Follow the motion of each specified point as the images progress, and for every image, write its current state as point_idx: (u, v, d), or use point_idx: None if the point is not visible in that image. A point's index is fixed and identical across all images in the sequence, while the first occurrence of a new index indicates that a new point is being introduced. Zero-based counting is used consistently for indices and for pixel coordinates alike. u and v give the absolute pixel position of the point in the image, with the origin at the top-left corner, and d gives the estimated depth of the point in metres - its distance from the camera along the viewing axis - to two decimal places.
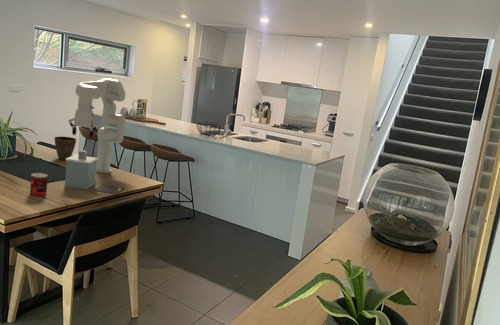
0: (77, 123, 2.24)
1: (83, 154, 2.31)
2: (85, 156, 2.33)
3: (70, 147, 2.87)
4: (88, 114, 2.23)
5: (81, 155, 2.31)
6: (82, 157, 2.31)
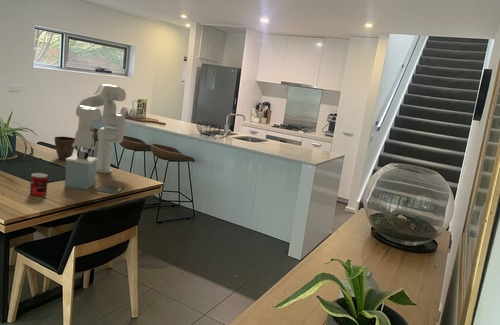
0: (77, 144, 2.29)
1: (83, 154, 2.31)
2: None
3: (70, 147, 2.87)
4: (88, 135, 2.28)
5: (81, 155, 2.31)
6: (82, 157, 2.31)
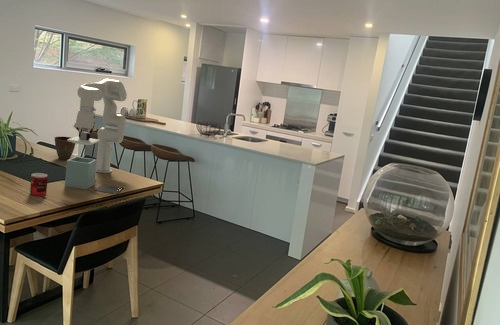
0: (79, 125, 2.27)
1: (85, 135, 2.29)
2: None
3: (70, 147, 2.87)
4: (89, 116, 2.26)
5: (83, 136, 2.29)
6: (84, 138, 2.29)
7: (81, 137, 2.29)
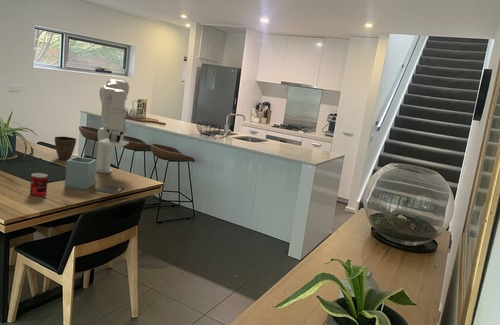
0: (110, 127, 2.28)
1: (115, 137, 2.30)
2: None
3: (70, 147, 2.87)
4: (120, 118, 2.27)
5: (113, 138, 2.30)
6: (114, 140, 2.30)
7: (111, 139, 2.30)
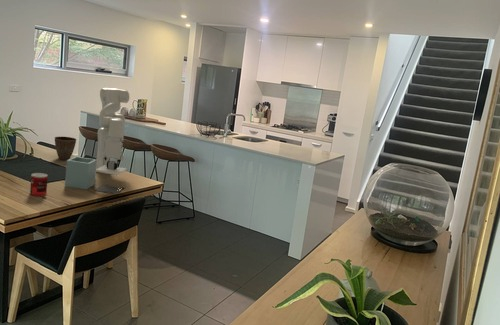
0: (107, 155, 2.31)
1: (113, 165, 2.33)
2: None
3: (70, 147, 2.87)
4: (117, 146, 2.30)
5: (111, 166, 2.33)
6: (111, 168, 2.33)
7: (109, 167, 2.33)
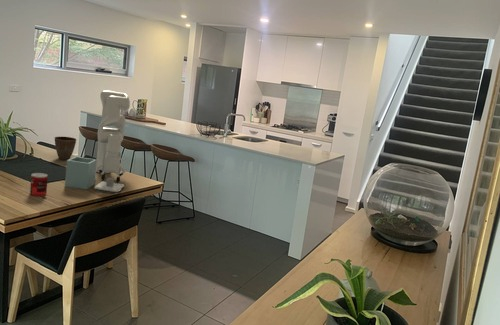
0: (105, 169, 2.33)
1: (111, 182, 2.35)
2: (112, 183, 2.37)
3: (70, 147, 2.87)
4: (116, 161, 2.32)
5: (109, 183, 2.35)
6: (110, 185, 2.35)
7: (107, 184, 2.35)
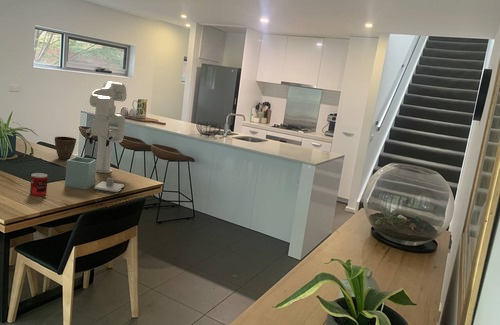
0: (94, 133, 2.34)
1: (111, 182, 2.35)
2: (112, 183, 2.37)
3: (70, 147, 2.87)
4: (104, 125, 2.33)
5: (109, 183, 2.35)
6: (110, 185, 2.35)
7: (107, 184, 2.35)
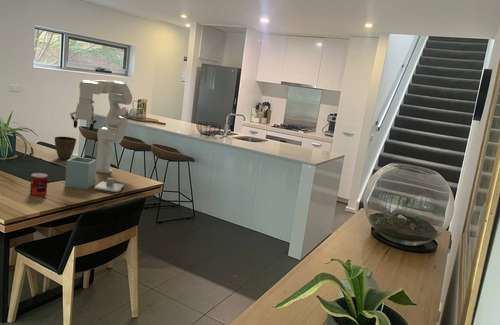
0: (78, 116, 2.37)
1: (111, 182, 2.35)
2: (112, 183, 2.37)
3: (70, 147, 2.87)
4: (88, 108, 2.36)
5: (109, 183, 2.35)
6: (110, 185, 2.35)
7: (107, 184, 2.35)
